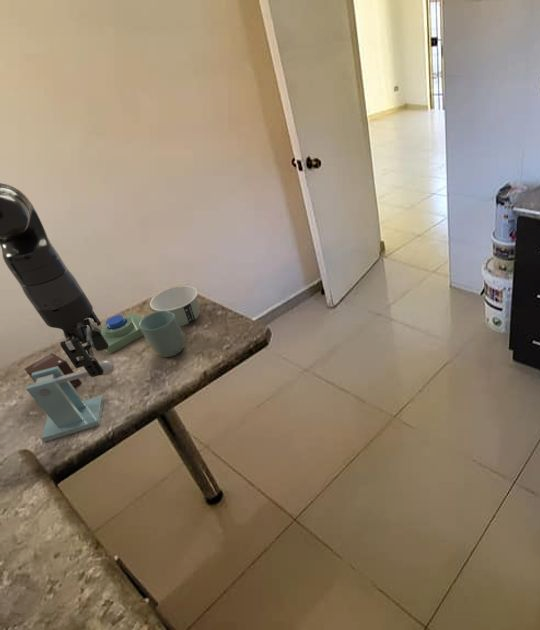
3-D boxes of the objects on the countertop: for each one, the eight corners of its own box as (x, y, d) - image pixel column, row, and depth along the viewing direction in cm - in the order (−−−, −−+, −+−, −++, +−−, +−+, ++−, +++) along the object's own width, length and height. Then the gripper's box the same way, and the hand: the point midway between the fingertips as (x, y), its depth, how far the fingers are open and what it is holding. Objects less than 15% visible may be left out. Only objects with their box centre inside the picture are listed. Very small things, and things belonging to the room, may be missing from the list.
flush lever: (117, 366, 92) (110, 355, 90) (116, 375, 90) (108, 364, 88) (45, 386, 88) (36, 374, 86) (41, 396, 86) (32, 385, 84)
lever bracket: (104, 399, 97) (75, 357, 90) (99, 424, 92) (68, 382, 84) (52, 414, 94) (17, 372, 87) (44, 442, 88) (5, 399, 81)
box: (69, 374, 104) (52, 352, 100) (82, 383, 102) (66, 360, 97) (41, 391, 100) (23, 368, 96) (55, 400, 97) (36, 377, 93)
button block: (109, 354, 110) (102, 342, 107) (92, 342, 114) (84, 330, 111) (154, 328, 118) (148, 317, 115) (136, 318, 122) (130, 307, 119)
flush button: (114, 331, 111) (110, 326, 110) (106, 326, 113) (102, 321, 112) (129, 323, 114) (126, 318, 113) (121, 318, 116) (118, 313, 115)
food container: (214, 308, 124) (207, 289, 120) (182, 333, 115) (173, 314, 111) (182, 301, 128) (174, 282, 124) (149, 324, 119) (139, 305, 115)
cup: (195, 345, 111) (181, 314, 105) (170, 365, 106) (154, 333, 100) (174, 338, 114) (159, 307, 108) (148, 356, 108) (131, 325, 102)
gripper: (41, 282, 83) (85, 346, 92) (22, 323, 72) (73, 390, 82) (87, 272, 85) (124, 336, 95) (74, 311, 75) (118, 378, 84)
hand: (100, 361), depth 88 cm, fingers open, 8 cm apart
